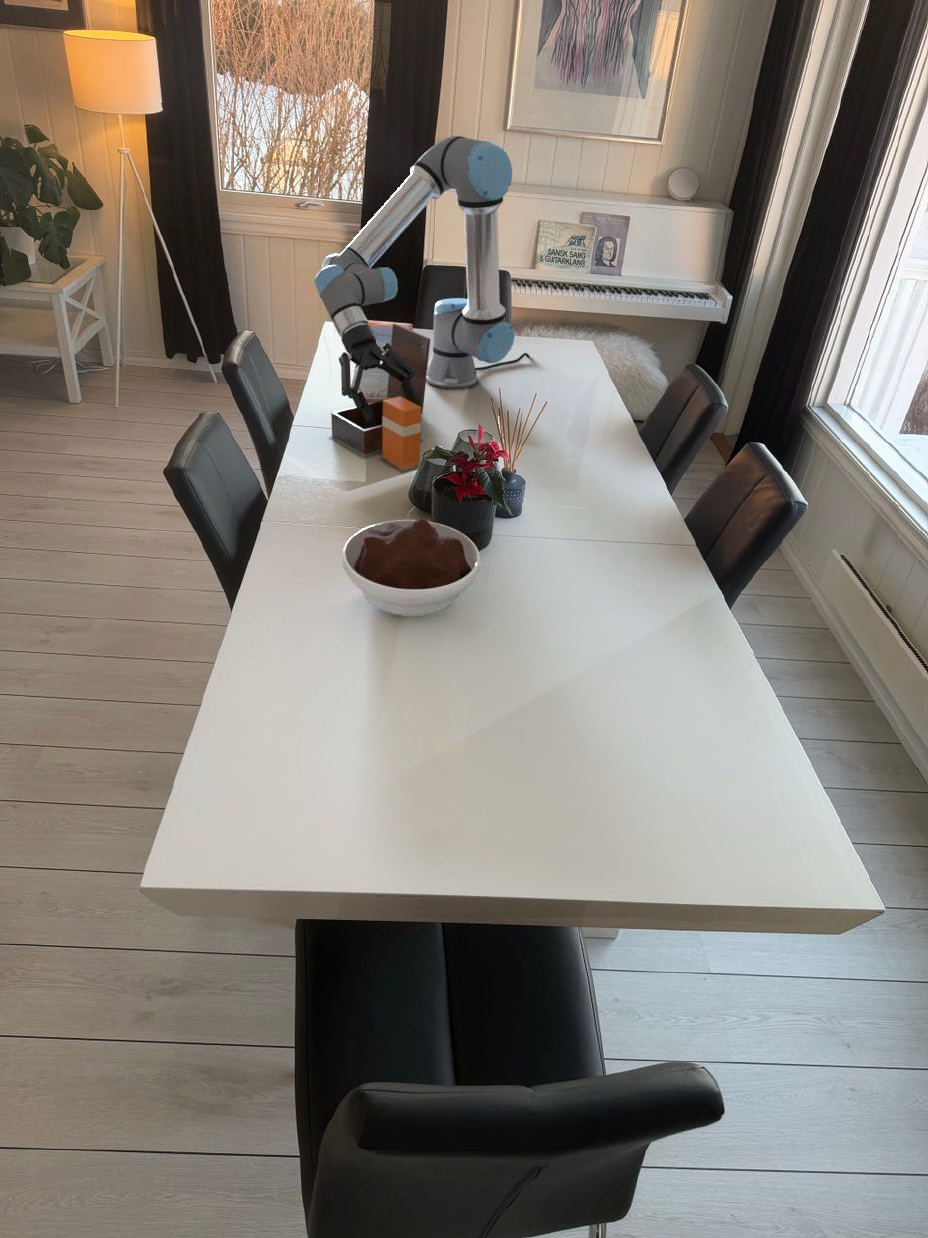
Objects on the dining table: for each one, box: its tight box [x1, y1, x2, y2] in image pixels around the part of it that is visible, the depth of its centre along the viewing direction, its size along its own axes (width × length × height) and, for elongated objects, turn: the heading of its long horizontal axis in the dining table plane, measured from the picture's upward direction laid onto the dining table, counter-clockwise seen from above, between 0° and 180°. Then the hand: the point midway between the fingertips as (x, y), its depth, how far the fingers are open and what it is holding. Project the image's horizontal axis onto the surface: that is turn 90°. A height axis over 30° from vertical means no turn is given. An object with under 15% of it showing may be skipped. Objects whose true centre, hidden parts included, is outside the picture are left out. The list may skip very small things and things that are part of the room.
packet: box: [381, 396, 422, 470], centre depth 200 cm, size 5×8×15 cm, turn 42°
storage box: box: [330, 399, 422, 456], centre depth 213 cm, size 18×14×7 cm
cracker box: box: [358, 319, 414, 403], centre depth 230 cm, size 14×6×21 cm, turn 84°
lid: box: [387, 322, 431, 415], centre depth 210 cm, size 18×14×1 cm
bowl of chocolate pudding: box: [341, 518, 482, 617], centre depth 154 cm, size 25×25×15 cm
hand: (393, 413), depth 200 cm, fingers open, 13 cm apart
